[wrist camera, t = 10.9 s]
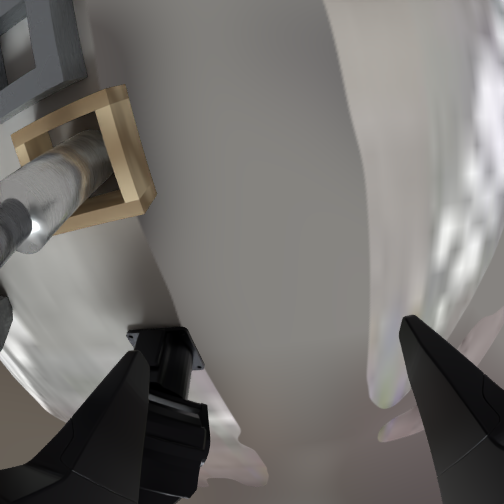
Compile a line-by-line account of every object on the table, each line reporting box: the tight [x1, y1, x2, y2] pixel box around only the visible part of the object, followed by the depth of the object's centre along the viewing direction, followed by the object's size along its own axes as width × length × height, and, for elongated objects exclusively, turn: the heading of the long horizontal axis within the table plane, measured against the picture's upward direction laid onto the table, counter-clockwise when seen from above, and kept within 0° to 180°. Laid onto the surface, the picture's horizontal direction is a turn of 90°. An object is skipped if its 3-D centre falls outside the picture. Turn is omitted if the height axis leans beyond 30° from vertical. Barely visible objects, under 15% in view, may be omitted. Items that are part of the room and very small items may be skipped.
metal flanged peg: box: [0, 130, 114, 268], centre depth 13 cm, size 4×4×13 cm
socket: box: [0, 0, 88, 124], centre depth 12 cm, size 9×9×3 cm
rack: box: [11, 84, 157, 236], centre depth 18 cm, size 8×8×3 cm
